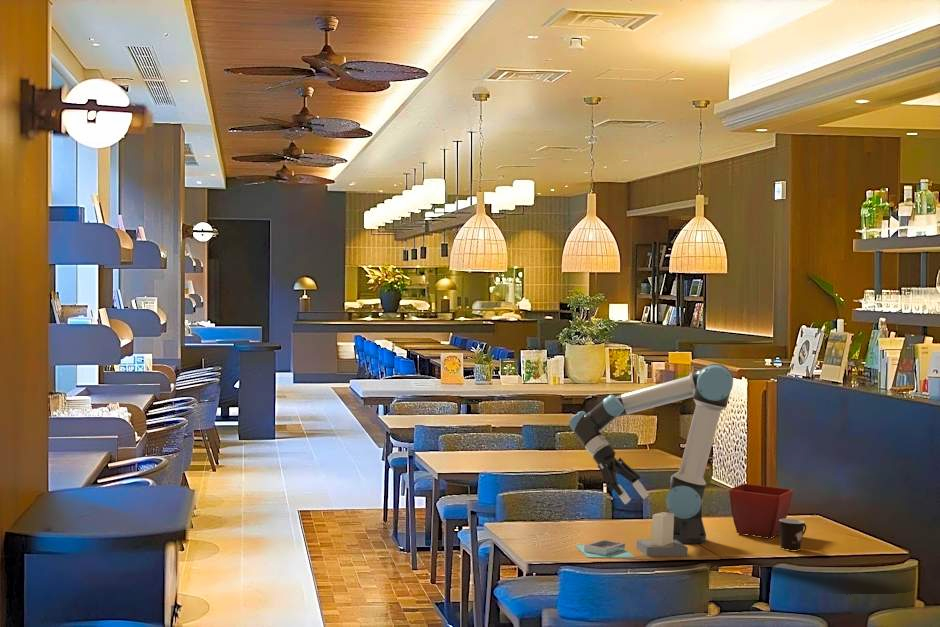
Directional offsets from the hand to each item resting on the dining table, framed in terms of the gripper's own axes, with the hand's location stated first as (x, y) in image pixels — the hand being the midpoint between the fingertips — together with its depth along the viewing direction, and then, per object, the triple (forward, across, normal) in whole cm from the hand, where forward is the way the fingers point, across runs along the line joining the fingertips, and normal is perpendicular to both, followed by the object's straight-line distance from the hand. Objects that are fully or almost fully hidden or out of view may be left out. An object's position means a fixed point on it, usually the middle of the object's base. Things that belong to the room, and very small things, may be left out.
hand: (637, 499), depth 412 cm
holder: (+9, -14, +15) cm, 22 cm away
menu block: (+17, 0, +2) cm, 17 cm away
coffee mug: (+42, +39, -18) cm, 60 cm away
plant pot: (+28, +55, -4) cm, 62 cm away
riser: (+19, 0, +5) cm, 19 cm away
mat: (+9, -14, +15) cm, 22 cm away
